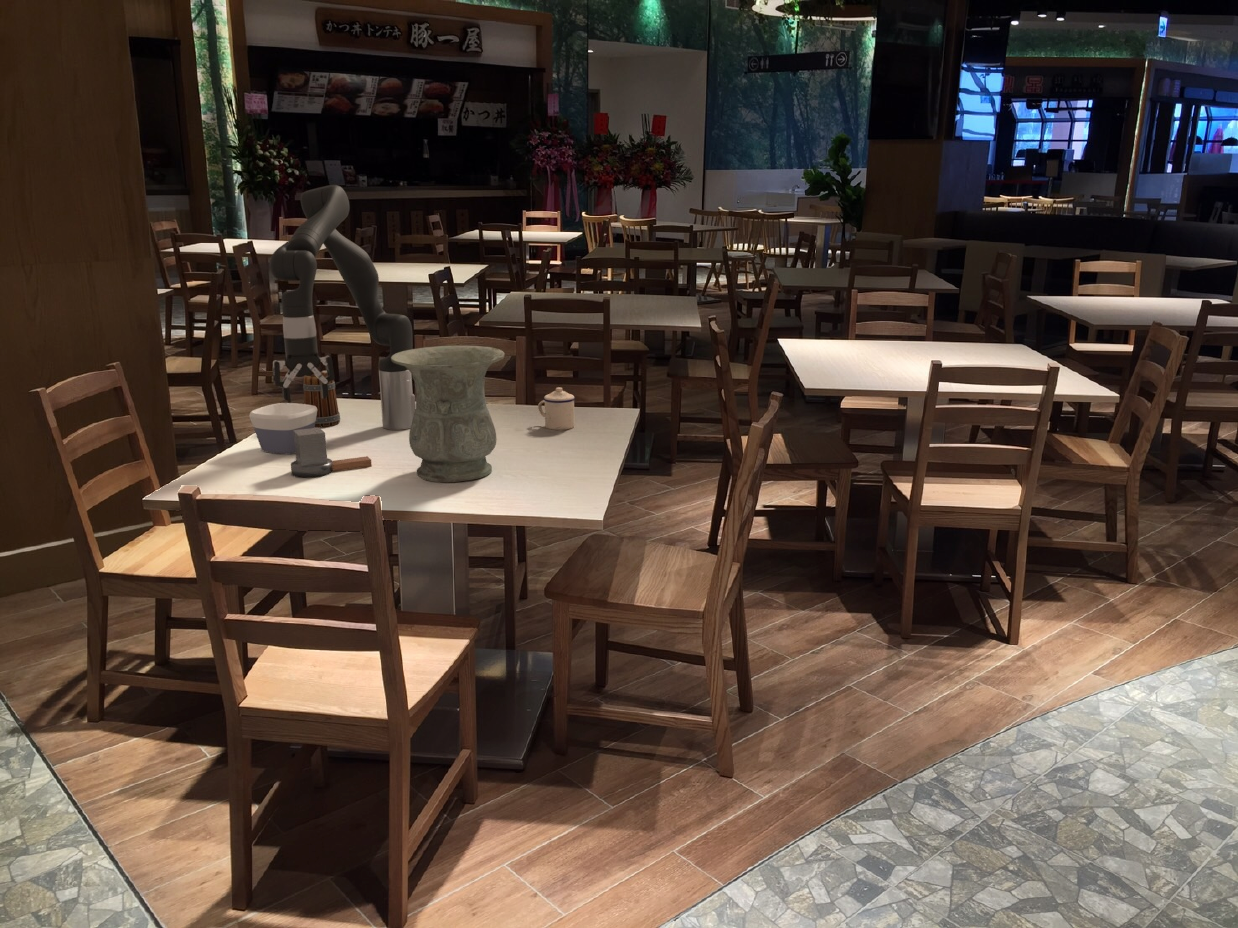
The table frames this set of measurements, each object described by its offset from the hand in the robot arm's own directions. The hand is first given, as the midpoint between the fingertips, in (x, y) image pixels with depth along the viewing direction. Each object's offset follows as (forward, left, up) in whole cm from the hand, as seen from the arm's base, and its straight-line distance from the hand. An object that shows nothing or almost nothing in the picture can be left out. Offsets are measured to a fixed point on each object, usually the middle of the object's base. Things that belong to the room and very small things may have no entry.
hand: (306, 400), depth 252 cm
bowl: (+1, -27, -19) cm, 33 cm away
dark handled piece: (-5, 0, -18) cm, 19 cm away
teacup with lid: (-74, -15, -19) cm, 78 cm away
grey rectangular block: (0, 0, -16) cm, 16 cm away
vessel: (-31, +18, -19) cm, 40 cm away
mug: (-15, -54, -19) cm, 59 cm away
